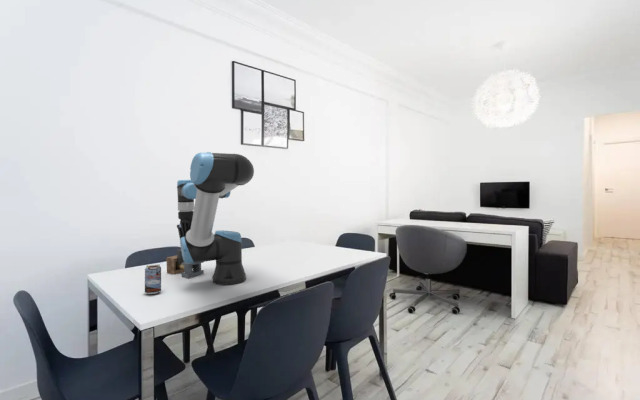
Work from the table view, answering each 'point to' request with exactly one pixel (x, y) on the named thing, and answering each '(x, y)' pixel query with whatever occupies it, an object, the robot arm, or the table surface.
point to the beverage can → (152, 279)
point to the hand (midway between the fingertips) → (187, 258)
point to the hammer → (180, 260)
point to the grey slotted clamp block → (192, 270)
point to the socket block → (173, 265)
